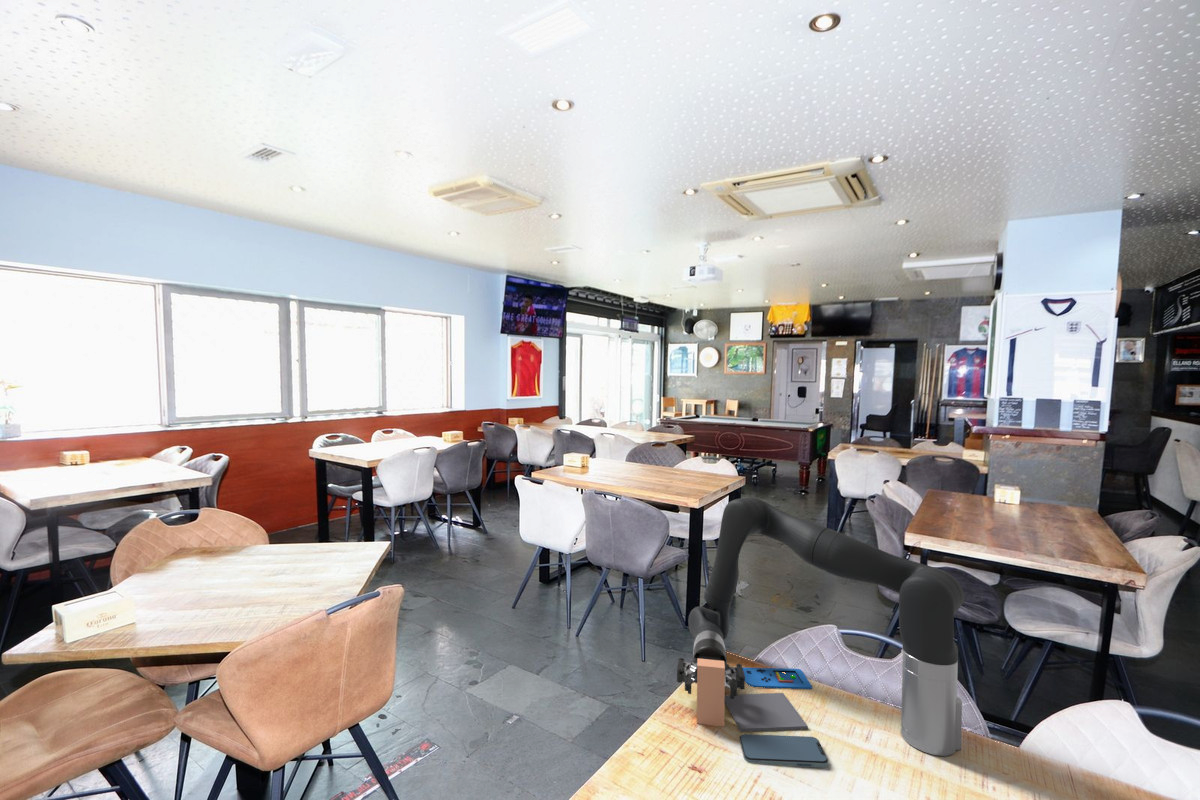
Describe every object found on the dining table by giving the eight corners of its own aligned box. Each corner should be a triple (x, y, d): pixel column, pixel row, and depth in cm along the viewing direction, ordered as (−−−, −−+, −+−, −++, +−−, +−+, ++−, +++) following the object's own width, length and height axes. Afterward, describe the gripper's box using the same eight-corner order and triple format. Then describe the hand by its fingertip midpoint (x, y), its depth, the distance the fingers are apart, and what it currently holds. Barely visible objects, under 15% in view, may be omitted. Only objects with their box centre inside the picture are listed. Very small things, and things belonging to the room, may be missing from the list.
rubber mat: (783, 695, 120) (783, 692, 120) (807, 729, 108) (807, 726, 108) (722, 697, 119) (722, 694, 119) (740, 731, 107) (740, 728, 107)
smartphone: (738, 732, 106) (817, 735, 104) (738, 741, 106) (817, 744, 104) (745, 758, 98) (829, 762, 97) (745, 767, 98) (829, 771, 97)
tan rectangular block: (723, 717, 112) (724, 661, 111) (724, 726, 109) (724, 668, 108) (696, 714, 113) (697, 658, 112) (696, 723, 110) (697, 665, 109)
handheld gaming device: (739, 666, 131) (800, 667, 131) (739, 670, 131) (800, 672, 131) (747, 684, 123) (813, 685, 123) (747, 689, 123) (813, 690, 123)
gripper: (679, 634, 126) (675, 670, 110) (741, 640, 123) (747, 677, 107) (678, 666, 126) (675, 706, 110) (740, 672, 123) (746, 714, 107)
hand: (710, 691), depth 109 cm, fingers open, 8 cm apart
